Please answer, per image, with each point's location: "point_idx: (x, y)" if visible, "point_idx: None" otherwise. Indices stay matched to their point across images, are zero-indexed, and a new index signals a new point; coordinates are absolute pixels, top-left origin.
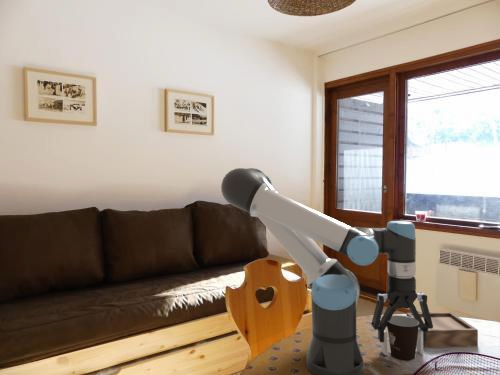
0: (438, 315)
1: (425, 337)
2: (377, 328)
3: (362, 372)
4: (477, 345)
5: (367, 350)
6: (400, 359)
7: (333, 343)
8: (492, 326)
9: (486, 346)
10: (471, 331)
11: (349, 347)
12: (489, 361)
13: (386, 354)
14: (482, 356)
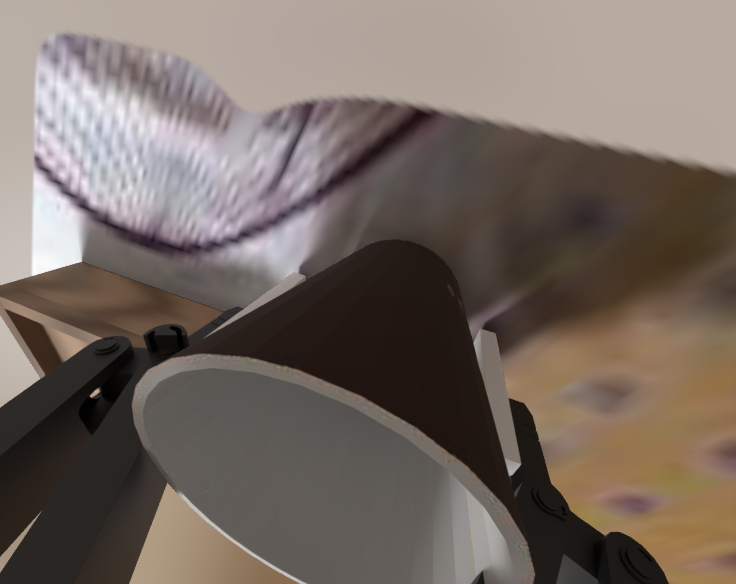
0: None
1: (219, 319)
2: (613, 543)
3: None
4: (77, 263)
5: (541, 403)
6: (444, 262)
7: None
8: None
9: (56, 252)
10: (17, 295)
11: None
12: (54, 131)
13: (485, 331)
14: (74, 184)
